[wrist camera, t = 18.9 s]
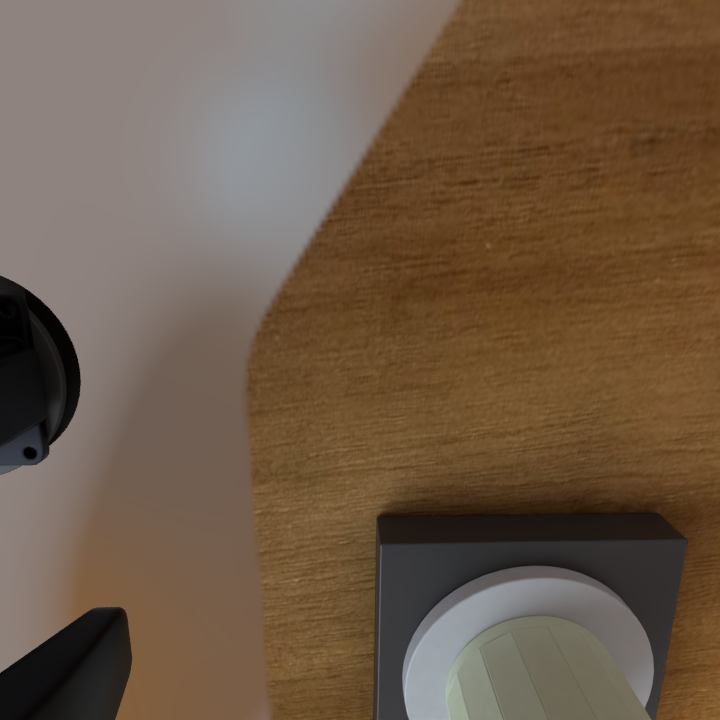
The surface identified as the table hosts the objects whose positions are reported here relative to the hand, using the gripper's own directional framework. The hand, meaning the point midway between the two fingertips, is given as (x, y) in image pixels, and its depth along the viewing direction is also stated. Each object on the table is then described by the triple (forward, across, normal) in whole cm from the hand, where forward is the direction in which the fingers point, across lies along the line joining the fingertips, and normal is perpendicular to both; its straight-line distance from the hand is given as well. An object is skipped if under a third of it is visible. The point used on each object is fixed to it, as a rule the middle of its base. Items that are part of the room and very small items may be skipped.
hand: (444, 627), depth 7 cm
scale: (+13, -6, +12) cm, 19 cm away
